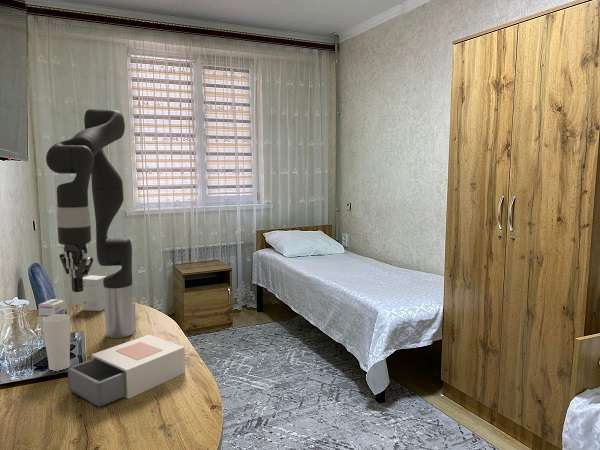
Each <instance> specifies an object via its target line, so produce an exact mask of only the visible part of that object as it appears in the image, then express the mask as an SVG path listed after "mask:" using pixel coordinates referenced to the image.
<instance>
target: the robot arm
mask: <svg viewBox="0 0 600 450" xmlns="http://www.w3.org/2000/svg"><path fill="white" fill-rule="evenodd" d="M83 117H84V119H83V121H84V122H83V123H84V124H83V126H84V129H83V130H80V131H79V132H77V133H76V134H74V136H72V137H71V138H69V139H65V140H63V141H62V140H61V141H59V142H57V143H55V144H53V145H52V146H51V147H50V148H49V149H48V150H47V153H46V155H45V162H46V165H47V167H48V168H49V169H50V170H51V171H52V172H54V173H56V174H69V175H70V174H72V175H73V174H75V177H74V179H73V180H72V181H69V182H65V183H61V184H59V185H57V187H56V204H57V211H56V221H57V222H56V223H57V239H58V240H57V242H58V244H60V245H63V246H64V247H63V251H64V252H63V253H60V254H59V255H58V256H59V260H60V262H61V265H62V267H63V269H64V271H65V273H66V275H69V277H70V278H71V292H73V293H81V291H83V278H84V277H86V276H89V272H90V269H91V268H92V265H93V262H94V258H93V257H92V256H91V257H89V255H88V248H87V244H89V243H91V242H92V230H91V214H90V209H89V185H90V180H91V193H92V202H93V208H94V218H95V237H96V238H95V240H96V241H95V244H96V246H95V248H96V259H97V262H98V265H100V266H102V267H115V266H118V267H119V266H121V268H120V269H119V270H118V271H116V272H115V273H112V274H109V275H105V276H106V277H105V278H104V279H103V288H104V306H105V309H104V323H105V336H106V337H107V338H109V339H120V338H121V339H122V338H128V337H129V336H131V335H133V334H134V333H135V331H136V329H137V327H136V326H137V325H136V322H137V321H136V305H135V303H134V291H133V290H134V289H133V288H134V287H133V246H132V245H133V243H132V241H131V240H130V238H128V237H127V238H126V237H115V238H113V237H112V238H108V231H109V228H110V226H111V224H112V221H113V220H114V219H115V217H116V215H117V214H118V212H119V210H121V209H120V208H121V207H122V205H123V203H124V197H125V196H124V185H123V180H122V179H123V178H122V177H121V175H120V174H119V172H118V171H117V169H116V168H115V167H114V166H113V164H112V163H111V162H110V161H109V159H108V158H107V155H106V154H105V151H104V148H105V147H106V146H108V145H110V144H112V143H113V142H116V141H119V140H120V139H121V138H123V136H124V134H125V131H126V123H125V117H124V116H123V113H121V111H119V110H117V109H116V110H115V109H104V108H101V109H99V108H98V109H97V108H91V109H90V108H89V109H87V110H85V113H84V116H83Z"/></svg>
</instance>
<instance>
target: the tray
mask: <svg viewBox="0 0 600 450" xmlns="http://www.w3.org/2000/svg"><path fill="white" fill-rule="evenodd" d="M66 370H67V384H68V385H67V386H68V391H70V392H72V393H73V394H75V395H77V396H78V397H80V398H82V399H84V400H86V401H87V402H90V403H91V404H93V405H95V406H97V407H98V408H102V407H103V406H107V405H108V404H110V403H112V402H114V401H117V400H119V399H121V398H124V397H123V396H126V395H127V393H126V372H125V371H122V370H120V369H118V368H116V367H114V366H111V365H109V364H107V363H105V362H103V361H100V360H98V359H96V358H95V359H92V358H91V359H90V360H87V361H84V362H81V363H78V364H75V365H73V366H69V367H68V368H67V369H66Z"/></svg>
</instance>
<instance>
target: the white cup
mask: <svg viewBox="0 0 600 450" xmlns="http://www.w3.org/2000/svg"><path fill="white" fill-rule="evenodd" d="M43 333H44V339H45V345H46V348H45V349H46V356H47V361H48V369H50V370H53V371H52V372H54V371H57V372H60V371H59V370H63V369H65V370H67V369H66V368H69V367H71V358H70V357H71V356H70V355H71V354H70V353H71V319H70V315H69V314H68V313H67V314H56V315H51V316H47V317H45V318H44V319H43ZM50 370H49V371H50ZM63 371H64V370H63Z"/></svg>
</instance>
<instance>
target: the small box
mask: <svg viewBox="0 0 600 450" xmlns="http://www.w3.org/2000/svg"><path fill="white" fill-rule="evenodd" d="M106 276H107V275H92V274H91V275H86V276H84V277H83V291H81V292H80V296H81V309H82V311H90V312H91V311H92V312H101V311H103V310H105V306H104V288H103V279H104V278H105V277H106Z"/></svg>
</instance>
